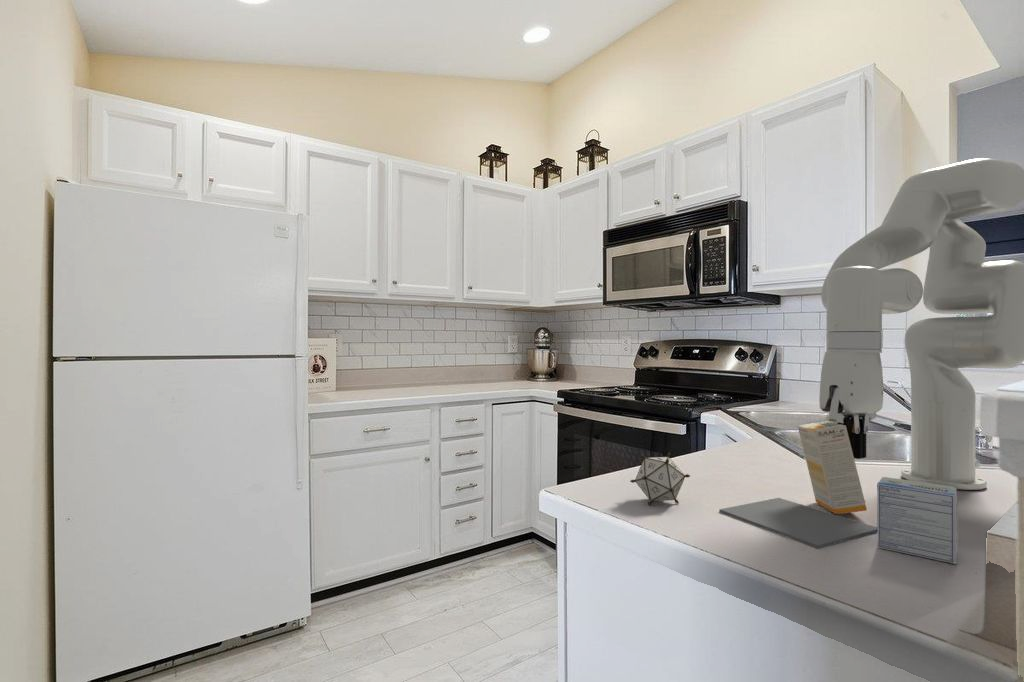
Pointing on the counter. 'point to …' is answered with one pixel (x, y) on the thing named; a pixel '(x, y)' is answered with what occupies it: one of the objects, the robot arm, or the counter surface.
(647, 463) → the game die
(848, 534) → the mat
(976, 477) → the robot arm
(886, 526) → the medicine box
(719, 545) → the counter surface
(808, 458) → the supplement box
